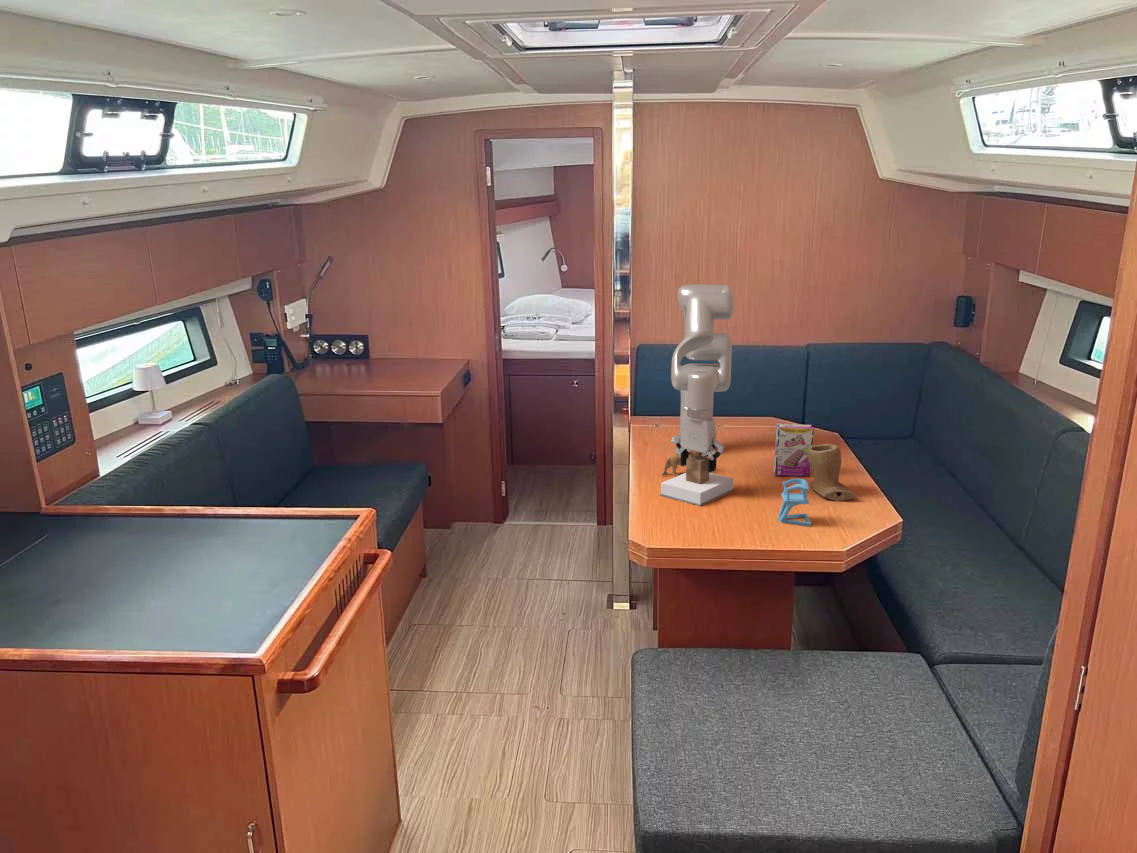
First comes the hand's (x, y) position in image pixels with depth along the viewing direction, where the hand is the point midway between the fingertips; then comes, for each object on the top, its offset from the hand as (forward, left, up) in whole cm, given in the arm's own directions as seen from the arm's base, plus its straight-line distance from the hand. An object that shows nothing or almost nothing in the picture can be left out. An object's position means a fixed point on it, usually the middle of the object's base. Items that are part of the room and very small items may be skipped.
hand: (697, 468), depth 258 cm
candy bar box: (+13, +35, -8) cm, 38 cm away
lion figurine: (-14, +13, -8) cm, 21 cm away
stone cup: (+30, +25, -8) cm, 40 cm away
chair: (+33, -2, -8) cm, 34 cm away
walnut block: (0, 0, -4) cm, 4 cm away
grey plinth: (0, 0, -8) cm, 8 cm away
